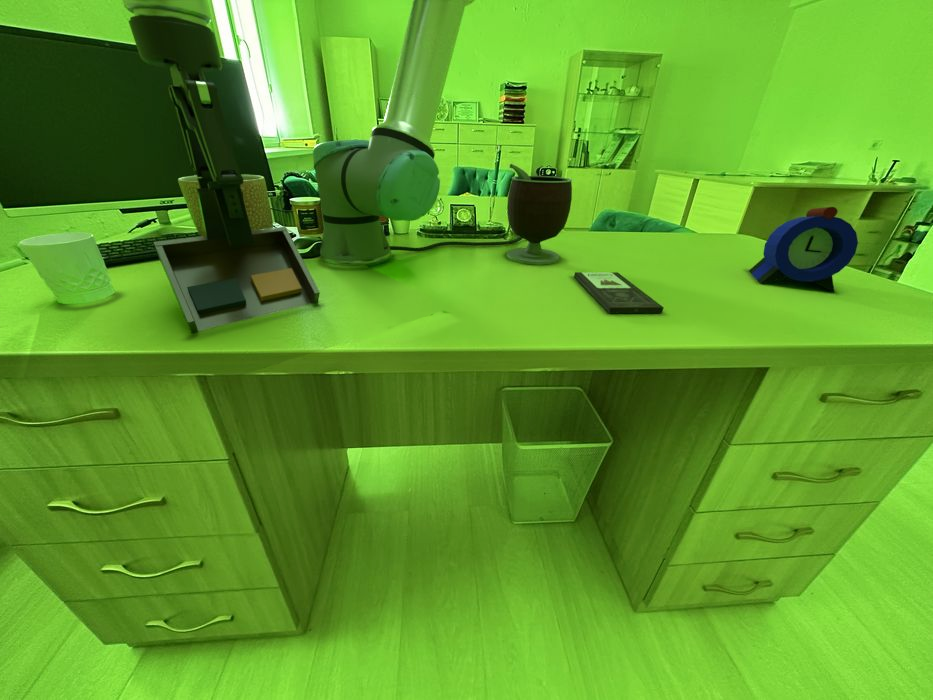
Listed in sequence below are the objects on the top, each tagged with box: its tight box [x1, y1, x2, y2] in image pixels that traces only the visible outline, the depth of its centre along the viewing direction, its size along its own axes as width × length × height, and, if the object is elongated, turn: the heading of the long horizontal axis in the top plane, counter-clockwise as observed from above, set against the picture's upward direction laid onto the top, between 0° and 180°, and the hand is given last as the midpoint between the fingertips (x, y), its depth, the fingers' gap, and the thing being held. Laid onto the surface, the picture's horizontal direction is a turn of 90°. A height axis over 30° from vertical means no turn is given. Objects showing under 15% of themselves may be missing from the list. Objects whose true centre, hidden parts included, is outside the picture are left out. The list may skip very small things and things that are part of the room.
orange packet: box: [251, 268, 302, 301], centre depth 57 cm, size 6×4×1 cm
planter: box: [177, 173, 274, 236], centre depth 88 cm, size 17×17×15 cm
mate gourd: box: [506, 163, 573, 266], centre depth 83 cm, size 16×14×20 cm
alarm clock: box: [748, 206, 859, 293], centre depth 73 cm, size 12×12×15 cm
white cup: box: [18, 231, 116, 305], centre depth 57 cm, size 8×8×10 cm
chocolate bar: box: [573, 271, 664, 314], centre depth 68 cm, size 9×1×18 cm
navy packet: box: [187, 278, 246, 315], centre depth 52 cm, size 6×4×1 cm
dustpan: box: [152, 188, 321, 334], centre depth 51 cm, size 17×13×12 cm
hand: (232, 234), depth 50 cm, fingers open, 10 cm apart
